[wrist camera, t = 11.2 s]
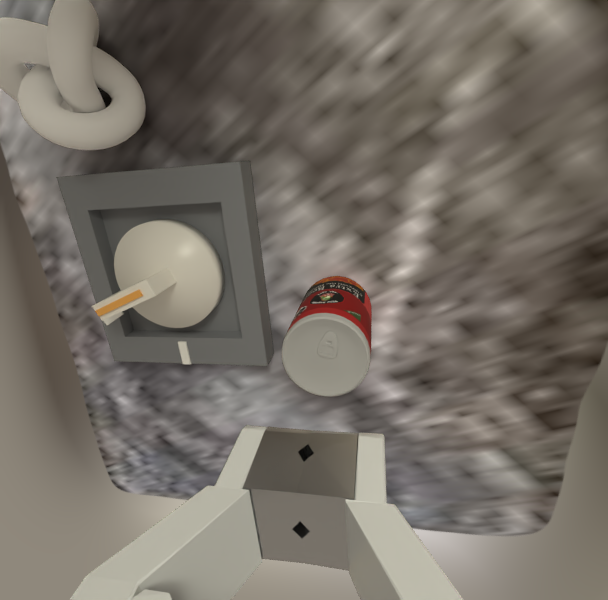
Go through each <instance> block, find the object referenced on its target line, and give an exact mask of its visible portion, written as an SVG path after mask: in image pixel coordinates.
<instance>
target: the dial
mask: <svg viewBox="0 0 608 600" xmlns="http://www.w3.org/2000/svg"><path fill="white" fill-rule="evenodd" d="M114 270H115V276H116V280H117V283H118V285H119V288H120V290H121V291H119V292H117V293H115V294H113V295H111V296H110V297H108V298H106V299H104V300H102V301H100V302H99V303H97V304H95V305H93V306H92V307H93V309H94V310H95V312H96V313H97V314H98V316H99V317H100V319H101V320H102V321H103V320H105V319H107V318H110V317H112V316H114V315H116V314H118V313H120V312H122V311H124V310H127V309H129V308H131V307H133V308H134V309H135V310H136V311H137V312H138V313H139V314H141V315H142V316H143V317H145V318H146V319H148V320H150V321H152V322H154V323H156V324H158V325H161V326H165V327H170V328H184V327H189V326H192V325H195V324H197V323H199V322H200V321H202V320H203V319H204V318H205V317H206V316H207V315H208V314H209V313H210V312H211V311H212V310H213V309H214V308H215V307H216V306H217V305H218V303H219V302H220V300H221V298H222V295H223V292H224V287H225V272H224V268H223V264H222V261H221V258H220V256H219V254H218V252H217V250H216V249H215V247H214V246H213V244H212V243H211V242H210V241H209V239H208V238H207V237H206V236H205V235H204V234H202V233H201V232H200V231H199V230H197V229H196V228H194V227H193V226H191V225H189V224H187V223H184V222H181V221H178V220H173V219H157V220H153V221H150V222H146V223H143V224H140V225H138V226H136V227H134V228H132V229H131V230H129V231H128V232H127V233H126V234H125V235H124V236H123V237H122V239H121V240H120V242H119V244H118V246H117V249H116V252H115V257H114Z"/></svg>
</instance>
